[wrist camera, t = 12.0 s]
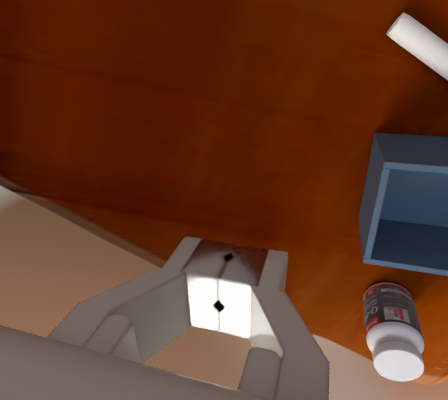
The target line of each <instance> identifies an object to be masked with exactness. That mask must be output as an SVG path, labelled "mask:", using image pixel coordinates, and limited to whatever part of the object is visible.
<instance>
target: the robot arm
mask: <svg viewBox="0 0 448 400" xmlns="http://www.w3.org/2000/svg"><path fill="white" fill-rule="evenodd" d="M287 264H288V253H287V252H285V251H277V250H266V249H259V248H252V247H245V246H239V245H235V244H229V243H223V242H218V241H212V240H207V239H201V238H195V237H188V236H187V237H185V238H184V239H183V240H182V241H181V243H180V244H179V245H178V247H177V248H176V250H175V251H174V252H173V254H172V255H171V257H170V258H169V259H168V261H167V262H166V263H165V265H164V266H163V268H162V269H161V268H156V269H153V270H151V271H149V272H147V273H144V274H142V275H140V276H138V277H135V278H133V279H131V280H129V281H127V282H124V283H122V284H120V285H118V286H115V287H113V288H111V289H109V290H107V291H104V292H102V293H100V294H98V295H95V296H93V297H91V298H89V299H87V300H85V301H82V302H80V303H78V304H77V305H76V306H75V307H74V308H73V309H72V310H71V312H70V313H69V314H68V315H67V316H66V317H65V318H64V319H63V320H62V321H61V322H60V323H59V324H58V325H57V327H56V328H55V329H54V330H53V331H52V332H51V333H50V334H49V335H48V336H47V337H46V338H45V337H42V336H38V335H34V334H31V333H26V332H23V331H20V330H16V329H12V328H9V327H5V326H1V325H0V400H328V399H329V398H328V396H329V361H328V360H327V358H326V357H325V355H324V353H323V352H322V350H321V348H320V347H319V345H318V344H317V342H316V340H315V339H314V337H313V336H312V334H311V332H310V331H309V329H308V328H307V326H306V324H305V323H304V321H303V320H302V318H301V316H300V315H299V313H298V312H297V310H296V308H295V307H294V305H293V304H292V302H291V300H290V299H289V297H288V296H287V294H286V292H285V286H286V275H287ZM190 326H194V327H200V328H205V329H210V330H214V331H219V332H223V333H227V334H231V335H235V336H239V337H243V338H247V339H250V343H251V346H252V349H251V350H249V352H248V356H247V359H246V362H245V366H244V369H243V373H242V376H241V380H240V383H239V386H238V390H236V389H232V388H229V387H225V386H221V385H217V384H214V383H210V382H207V381H203V380H199V379H196V378H192V377H188V376H185V375H181V374H177V373H174V372H170V371H166V370H163V369H159V368H155V367H152V366H148V365H144V364H143V363H144V362H146V361H147V360H148V359H149V358H151V357H152V356H153V355H155V354H156V353H157V352H158V351H160V350H161V349H163V348H164V347H165V346H166V345H168V344H169V343H170V342H171V341H173V340H174V339H175V338H177V337H178V336H179V335H181V334H182V333H183V332H185V331H186V330H187V329H188V328H190Z"/></svg>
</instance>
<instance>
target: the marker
mask: <svg viewBox="0 0 448 400" xmlns="http://www.w3.org/2000/svg"><path fill="white" fill-rule="evenodd" d="M386 34H387V35H388V36H389V37H390V38H391V39H392V40H394V41H395V42H396V43H398V44H399V45H400V46H402V47H403V48H404V49H406V50H407V51H408V52H410V53H411V54H412V55H414V56H415V57H417V58H418V59H419V60H421V61H422V62H423V63H425V64H426V65H427V66H429V67H430V68H431V69H433V70H434V71H435V72H437V73H438V74H440V75H441V76H442V77H444V78H445V79H446V80H448V44H447V43H446V42H445V41H443V40H442V39H441V38H439V37H438V36H437V35H435V34H434V33H433V32H431V31H430V30H429V29H427V28H426V27H425V26H423V25H422V24H420V23H419V22H418V21H416V20H415V19H414V18H412V17H411V16H410V15H408V14H406V13H402V14H401V15H400V16H399V17H398V19H397V20H396V21H395V22H394V23H393V25H392V26H391V27H390V29H389V30H388V32H387V33H386Z"/></svg>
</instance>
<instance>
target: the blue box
mask: <svg viewBox="0 0 448 400" xmlns="http://www.w3.org/2000/svg"><path fill="white" fill-rule="evenodd" d="M358 220H359V231H360V240H361V250H362V260H363V263H367V264H374V265H380V266H386V267H393V268H399V269H406V270H412V271H419V272H425V273H432V274H438V275H445V276H448V137H441V136H424V135H407V134H390V133H374V139H373V144H372V149H371V154H370V159H369V165H368V170H367V175H366V180H365V186H364V191H363V196H362V201H361V207H360V212H359V217H358Z"/></svg>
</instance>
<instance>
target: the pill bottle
mask: <svg viewBox="0 0 448 400" xmlns="http://www.w3.org/2000/svg"><path fill="white" fill-rule="evenodd" d="M363 308H364V319H365V330H366V340H367V345H368V347H369V349H370V350H371V352H372V357H373V363H374V367H375V369H376V370H377V372H378V373H379V374H380V375H382V376H383V377H385V378H387V379H390V380H394V381H411V380H414V379H416V378H418V377H419V376H420V375H421V374H422V373H423V371H424V363H423V359H422V355H421V354H422V352H423V349H424V341H423V336H422V333H421V329H420V325H419V321H418V318H417V314H416V310H415V306H414V302H413V299H412V296H411V294H410V293H409V292H408V291H407V290H406V289H405V288H404V287H402V286H400V285H398V284H395V283H390V282H383V283H377V284H374V285H372V286H371V287H369V288H368V289H367V290H366V292H365V293H364V296H363Z"/></svg>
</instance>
